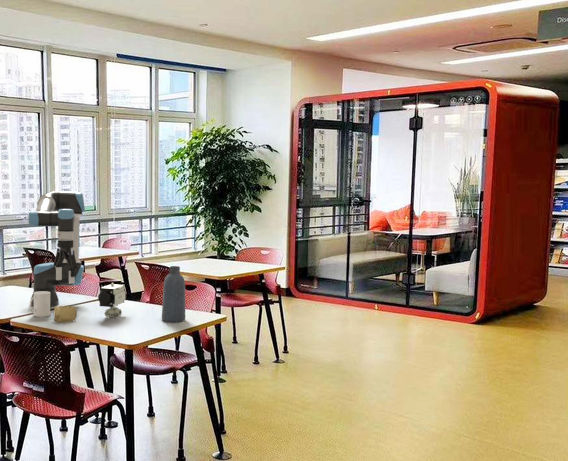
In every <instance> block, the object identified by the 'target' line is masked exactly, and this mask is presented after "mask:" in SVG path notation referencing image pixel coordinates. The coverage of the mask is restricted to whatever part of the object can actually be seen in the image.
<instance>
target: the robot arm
mask: <svg viewBox="0 0 568 461" xmlns="http://www.w3.org/2000/svg"><path fill="white" fill-rule="evenodd" d="M84 200H85V199H84V194H83V193H82V192H81V191H76V190H75V191H74V190H73V191H72V190H71V191H66V190H52V191H49V192H48V191H47V192H46V193H44V194H41V196H40V197H39V198H38V200H37V202H36V206H37V207H36V208H35V210H33V211H32V210H31V211H29V213H28V225H29V226H31V227H57V239H58V240H57V248H56V254H55V257H54V261H53V262H45V263H39V264H36V265H35V266H34V268H33V292H32V295H31V297H30V301H31V299H32V298H33V297H34V292H38V291H48V292H50V307H53V306H54V307H56V306H58V305H59V303H60V301H59V297H58V294H57V291H56V287H73V286H74V287H77V286H80V285H81V284H82V282H83V276H84V269H85V266H84V265H82V261H81V260H80V257H79V256H80V218H81V217H82V216H83V213H85V212H86V210H85V201H84ZM30 301H29V302H30ZM31 307H34V299H33V300H32V302H31Z"/></svg>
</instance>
